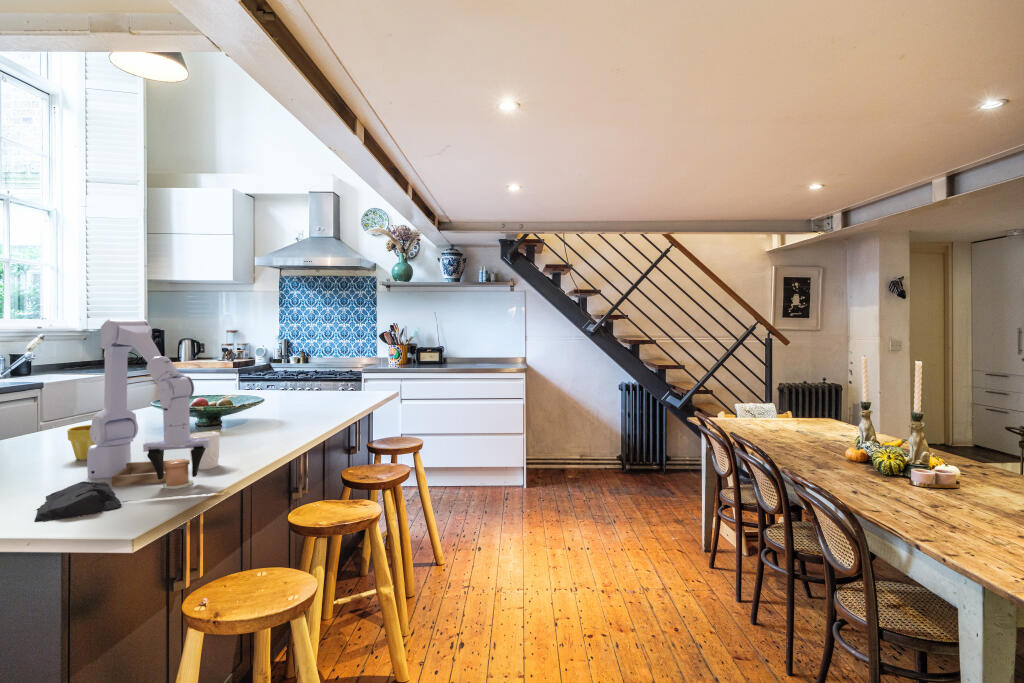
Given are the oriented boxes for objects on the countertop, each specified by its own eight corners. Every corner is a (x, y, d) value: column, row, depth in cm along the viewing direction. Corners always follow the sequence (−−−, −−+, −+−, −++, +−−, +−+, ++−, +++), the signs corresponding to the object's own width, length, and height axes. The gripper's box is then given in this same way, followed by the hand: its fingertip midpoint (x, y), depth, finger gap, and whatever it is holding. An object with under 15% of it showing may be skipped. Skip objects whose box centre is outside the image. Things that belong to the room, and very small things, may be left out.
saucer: (156, 493, 136) (156, 489, 136) (165, 484, 144) (165, 480, 144) (191, 490, 139) (191, 486, 139) (198, 481, 146) (198, 478, 146)
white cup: (226, 465, 163) (225, 431, 163) (209, 472, 156) (208, 437, 155) (201, 464, 164) (200, 431, 164) (183, 471, 156) (182, 436, 156)
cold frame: (112, 488, 141) (111, 472, 141) (127, 477, 151) (127, 462, 151) (174, 483, 145) (174, 468, 145) (185, 472, 155) (185, 458, 155)
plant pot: (92, 461, 169) (92, 430, 169) (59, 462, 169) (58, 430, 169) (117, 454, 179) (116, 424, 179) (86, 454, 179) (85, 424, 179)
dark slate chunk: (118, 489, 142) (117, 470, 142) (121, 511, 124) (121, 491, 124) (39, 501, 132) (39, 481, 132) (32, 527, 115) (31, 504, 115)
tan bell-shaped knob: (162, 487, 138) (162, 465, 138) (166, 481, 143) (166, 460, 143) (188, 484, 140) (187, 463, 140) (191, 479, 145) (190, 458, 145)
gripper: (138, 428, 135) (139, 484, 135) (204, 425, 139) (206, 478, 139) (147, 424, 141) (149, 476, 142) (211, 420, 146) (212, 471, 146)
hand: (178, 477), depth 141 cm, fingers open, 7 cm apart
